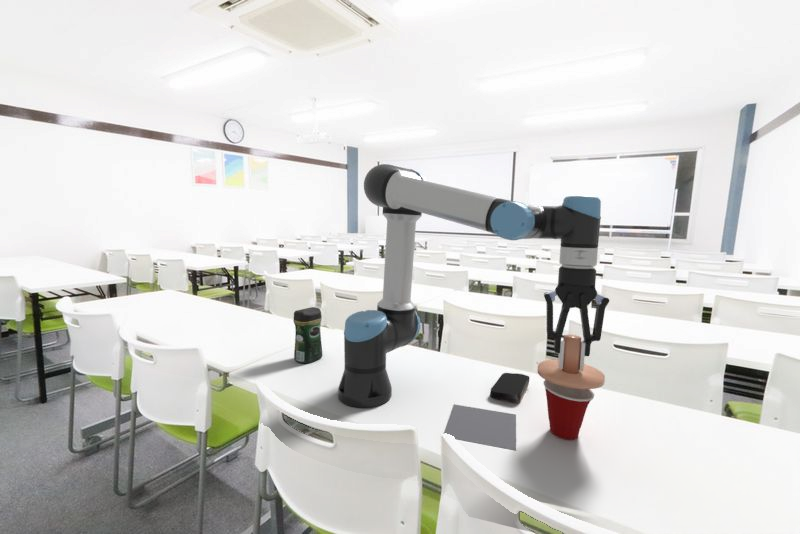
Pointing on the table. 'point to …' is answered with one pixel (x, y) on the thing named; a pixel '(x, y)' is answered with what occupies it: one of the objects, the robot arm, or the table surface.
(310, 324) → the coffee jar
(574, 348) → the lid
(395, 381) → the table surface
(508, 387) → the black sponge
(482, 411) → the mat
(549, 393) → the plastic cup
